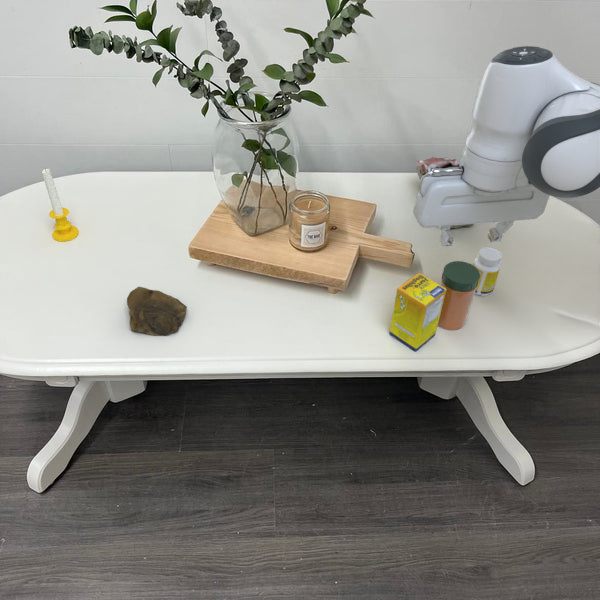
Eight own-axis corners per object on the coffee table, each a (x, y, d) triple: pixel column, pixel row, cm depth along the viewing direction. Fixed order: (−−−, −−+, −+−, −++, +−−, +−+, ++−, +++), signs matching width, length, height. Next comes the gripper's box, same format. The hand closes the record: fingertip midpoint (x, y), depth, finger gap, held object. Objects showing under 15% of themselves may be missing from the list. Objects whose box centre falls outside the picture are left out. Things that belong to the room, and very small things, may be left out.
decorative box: (417, 234, 123) (425, 195, 116) (397, 185, 137) (403, 148, 131) (477, 232, 124) (488, 193, 117) (451, 184, 138) (460, 147, 132)
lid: (483, 289, 96) (485, 282, 95) (449, 293, 95) (451, 285, 94) (469, 267, 100) (471, 259, 99) (436, 270, 99) (438, 262, 98)
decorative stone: (193, 303, 105) (191, 289, 103) (176, 339, 98) (174, 325, 96) (138, 296, 106) (135, 282, 104) (118, 331, 99) (114, 317, 97)
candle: (58, 244, 117) (36, 177, 106) (48, 232, 120) (26, 166, 109) (82, 235, 119) (63, 169, 109) (72, 224, 122) (53, 158, 112)
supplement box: (408, 318, 103) (418, 271, 96) (435, 335, 100) (448, 288, 93) (387, 334, 100) (396, 287, 93) (415, 352, 97) (426, 305, 90)
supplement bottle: (494, 284, 111) (506, 250, 105) (490, 299, 108) (501, 264, 102) (470, 277, 112) (480, 243, 107) (464, 291, 109) (475, 257, 103)
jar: (470, 328, 102) (485, 284, 95) (438, 332, 101) (450, 287, 94) (458, 305, 106) (471, 261, 99) (427, 308, 105) (438, 265, 98)
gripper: (430, 181, 79) (414, 259, 88) (566, 171, 82) (536, 248, 91) (416, 158, 84) (401, 235, 93) (545, 150, 86) (518, 225, 96)
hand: (469, 241), depth 92 cm, fingers open, 7 cm apart
